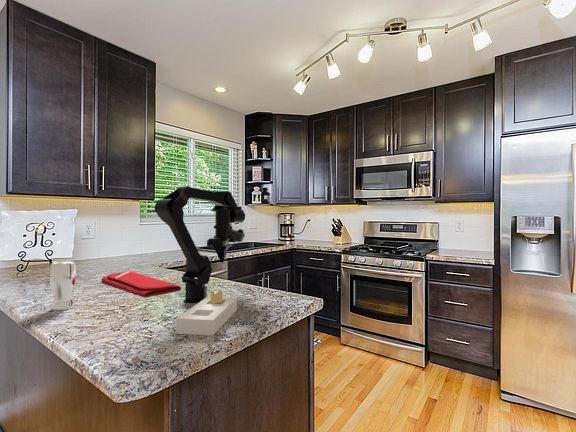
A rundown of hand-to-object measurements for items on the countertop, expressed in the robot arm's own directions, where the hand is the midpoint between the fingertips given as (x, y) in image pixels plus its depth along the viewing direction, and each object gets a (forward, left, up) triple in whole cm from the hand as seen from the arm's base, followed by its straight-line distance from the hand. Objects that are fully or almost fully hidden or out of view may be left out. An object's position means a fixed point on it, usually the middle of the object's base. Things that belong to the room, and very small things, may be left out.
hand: (222, 262), depth 125 cm
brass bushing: (+7, -26, -12) cm, 30 cm away
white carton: (-45, -27, -12) cm, 54 cm away
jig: (+7, -32, -12) cm, 35 cm away
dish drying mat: (-40, +7, -13) cm, 43 cm away
